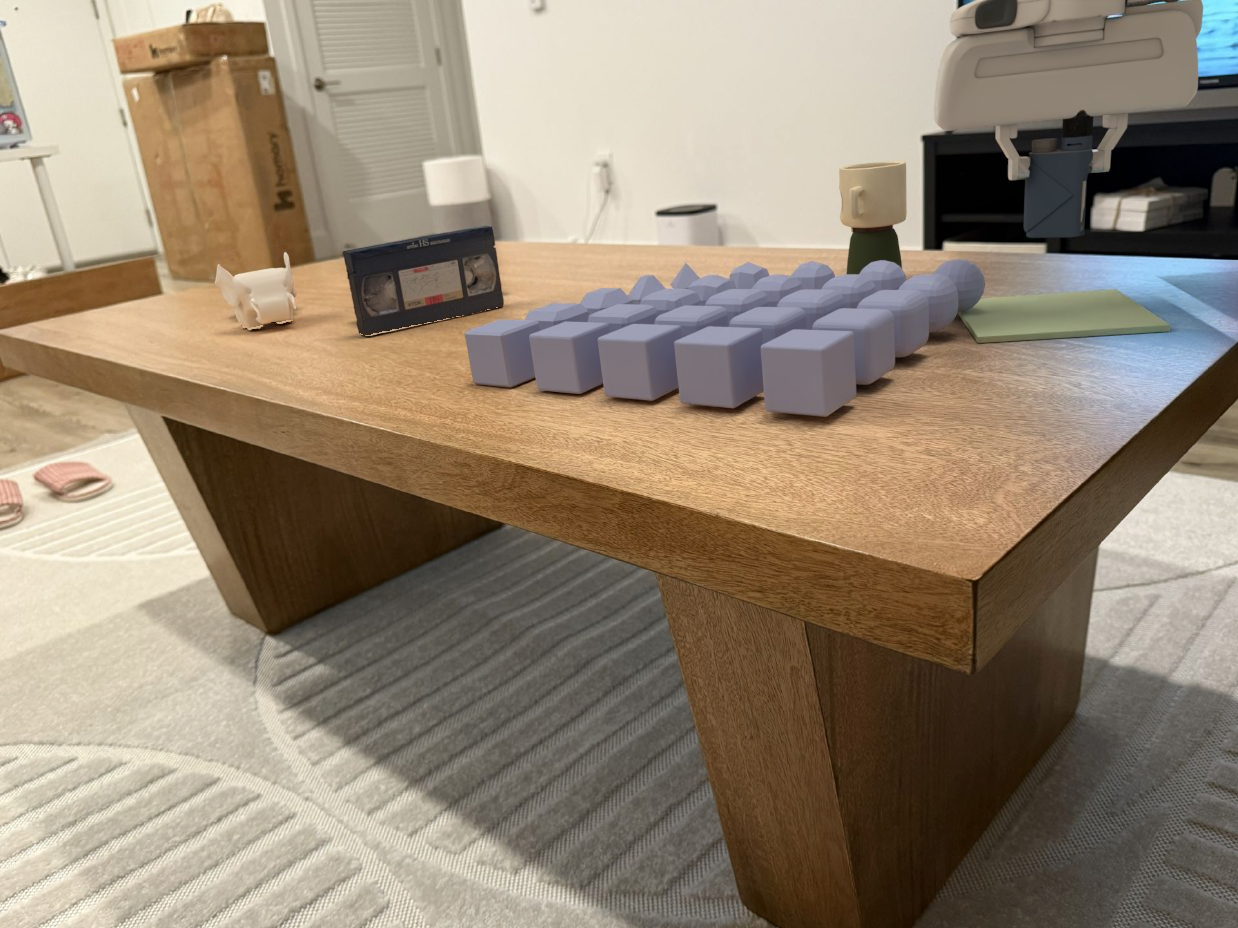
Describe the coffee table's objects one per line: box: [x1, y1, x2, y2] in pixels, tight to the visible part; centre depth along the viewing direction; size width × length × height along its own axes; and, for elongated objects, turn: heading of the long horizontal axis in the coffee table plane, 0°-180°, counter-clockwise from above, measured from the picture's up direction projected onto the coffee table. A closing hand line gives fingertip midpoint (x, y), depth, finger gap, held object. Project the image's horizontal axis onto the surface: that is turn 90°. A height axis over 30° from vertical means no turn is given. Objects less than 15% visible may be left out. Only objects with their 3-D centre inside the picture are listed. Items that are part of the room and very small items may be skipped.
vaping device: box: [1023, 110, 1095, 239], centre depth 84 cm, size 3×5×12 cm, turn 55°
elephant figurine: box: [214, 251, 298, 328], centre depth 126 cm, size 10×12×9 cm
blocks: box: [464, 258, 986, 418], centre depth 90 cm, size 35×34×5 cm
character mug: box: [838, 160, 907, 274], centre depth 110 cm, size 11×7×13 cm, turn 143°
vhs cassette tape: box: [342, 225, 505, 335], centre depth 118 cm, size 18×3×10 cm, turn 123°
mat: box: [957, 288, 1171, 344], centre depth 89 cm, size 15×15×1 cm
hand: (1057, 175), depth 85 cm, fingers closed on vaping device, 5 cm apart
